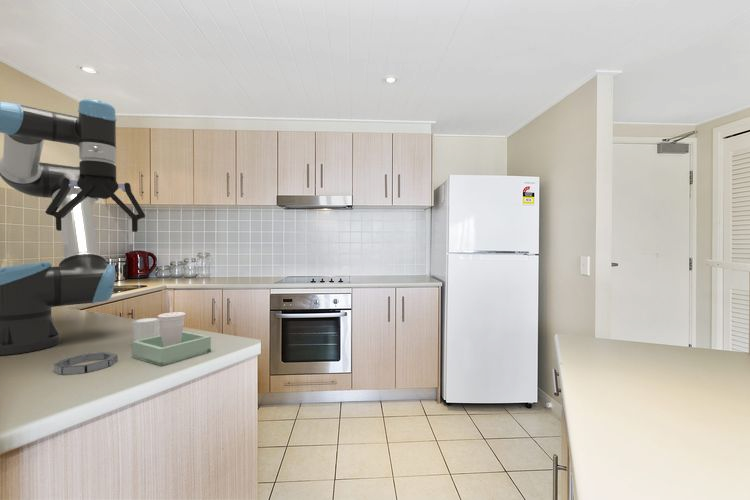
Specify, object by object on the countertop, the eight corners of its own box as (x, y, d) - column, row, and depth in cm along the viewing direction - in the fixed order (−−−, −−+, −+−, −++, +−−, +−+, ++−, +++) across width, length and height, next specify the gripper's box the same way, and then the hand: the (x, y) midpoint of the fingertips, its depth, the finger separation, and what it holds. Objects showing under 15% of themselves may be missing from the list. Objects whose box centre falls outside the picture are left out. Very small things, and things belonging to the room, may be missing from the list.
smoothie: (178, 346, 96) (178, 295, 95) (190, 350, 92) (190, 297, 92) (153, 352, 90) (152, 298, 90) (164, 356, 87) (164, 300, 86)
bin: (131, 357, 89) (131, 341, 89) (181, 344, 100) (181, 330, 100) (160, 366, 82) (160, 349, 82) (210, 351, 94) (210, 336, 94)
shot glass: (150, 347, 97) (150, 322, 97) (126, 347, 98) (126, 322, 97) (166, 340, 104) (165, 317, 104) (143, 340, 104) (143, 317, 104)
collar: (47, 368, 81) (47, 362, 81) (102, 355, 90) (102, 349, 90) (67, 377, 75) (67, 370, 75) (124, 362, 85) (124, 356, 85)
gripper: (27, 153, 82) (29, 244, 82) (154, 165, 94) (155, 244, 94) (38, 159, 88) (39, 244, 88) (155, 170, 101) (156, 244, 101)
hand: (99, 244), depth 91 cm, fingers open, 13 cm apart
